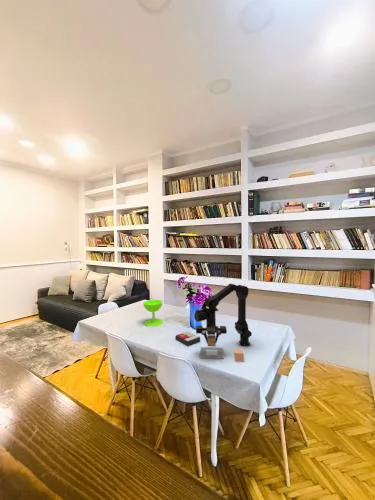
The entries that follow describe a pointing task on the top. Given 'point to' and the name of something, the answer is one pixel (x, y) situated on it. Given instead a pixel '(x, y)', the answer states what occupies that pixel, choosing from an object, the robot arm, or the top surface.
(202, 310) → the robot arm
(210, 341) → the base block
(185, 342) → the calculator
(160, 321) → the wineglass
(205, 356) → the build plate
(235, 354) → the top block
